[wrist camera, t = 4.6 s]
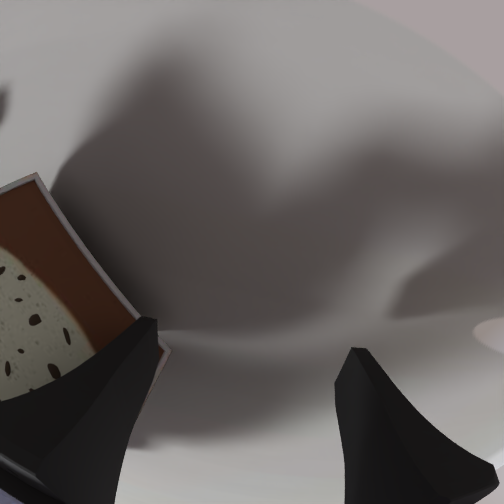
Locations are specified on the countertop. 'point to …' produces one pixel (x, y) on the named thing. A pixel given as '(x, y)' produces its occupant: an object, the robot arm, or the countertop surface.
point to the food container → (51, 294)
